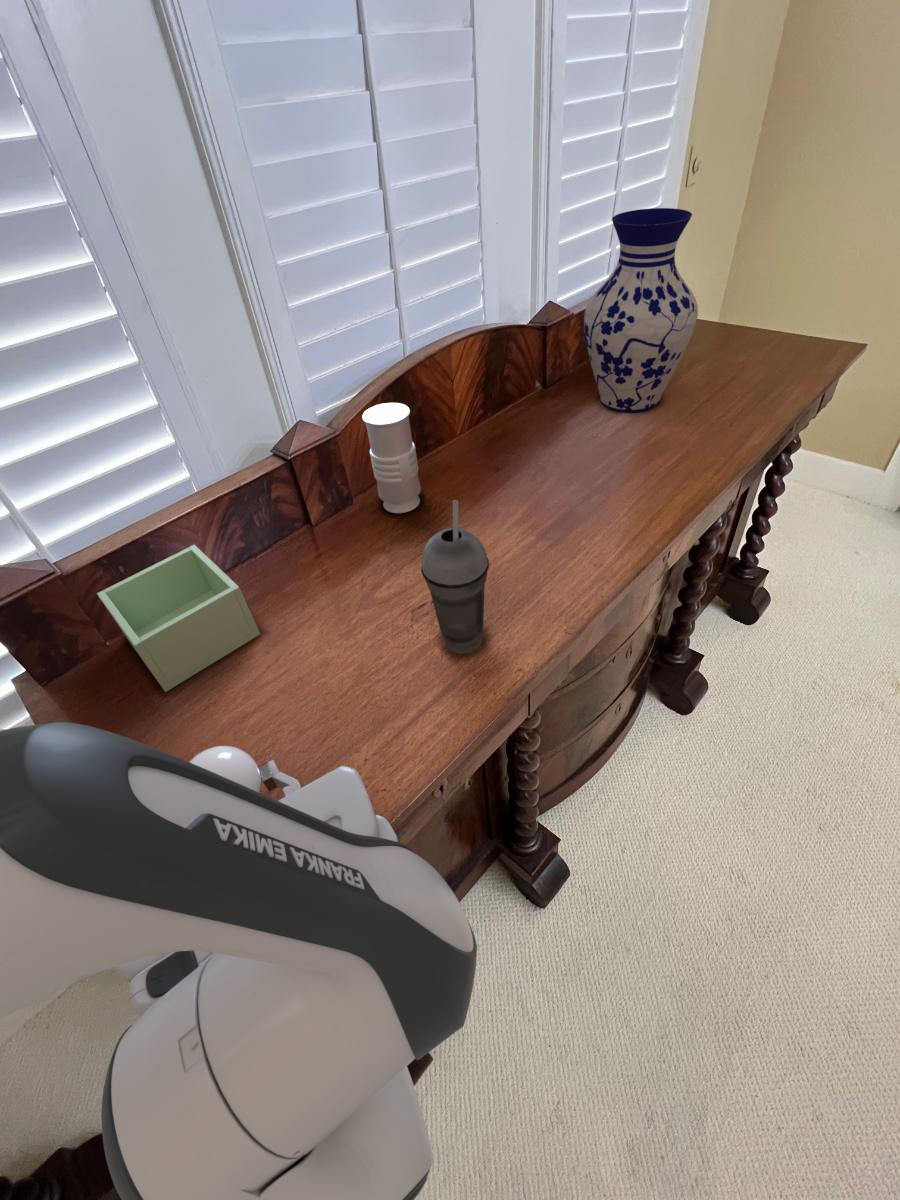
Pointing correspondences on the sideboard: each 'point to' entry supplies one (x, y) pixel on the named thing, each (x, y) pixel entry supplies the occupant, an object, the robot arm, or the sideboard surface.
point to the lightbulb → (230, 765)
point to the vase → (640, 312)
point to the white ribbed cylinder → (393, 456)
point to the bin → (180, 615)
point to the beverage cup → (457, 584)
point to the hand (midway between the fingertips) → (224, 789)
